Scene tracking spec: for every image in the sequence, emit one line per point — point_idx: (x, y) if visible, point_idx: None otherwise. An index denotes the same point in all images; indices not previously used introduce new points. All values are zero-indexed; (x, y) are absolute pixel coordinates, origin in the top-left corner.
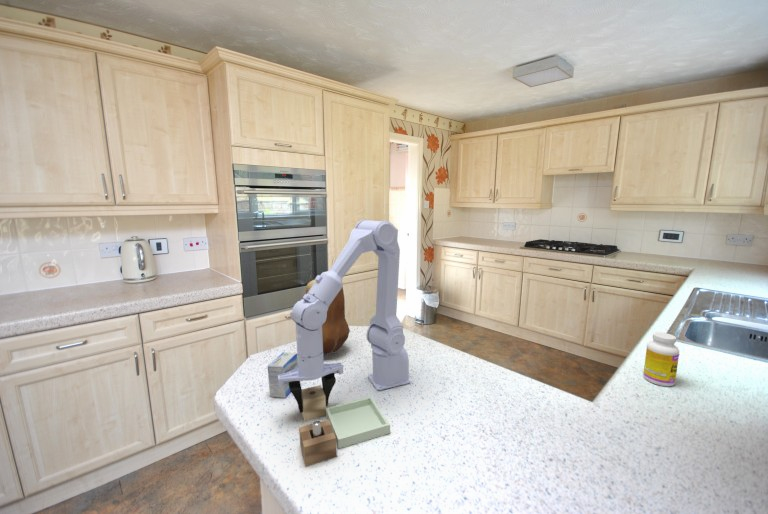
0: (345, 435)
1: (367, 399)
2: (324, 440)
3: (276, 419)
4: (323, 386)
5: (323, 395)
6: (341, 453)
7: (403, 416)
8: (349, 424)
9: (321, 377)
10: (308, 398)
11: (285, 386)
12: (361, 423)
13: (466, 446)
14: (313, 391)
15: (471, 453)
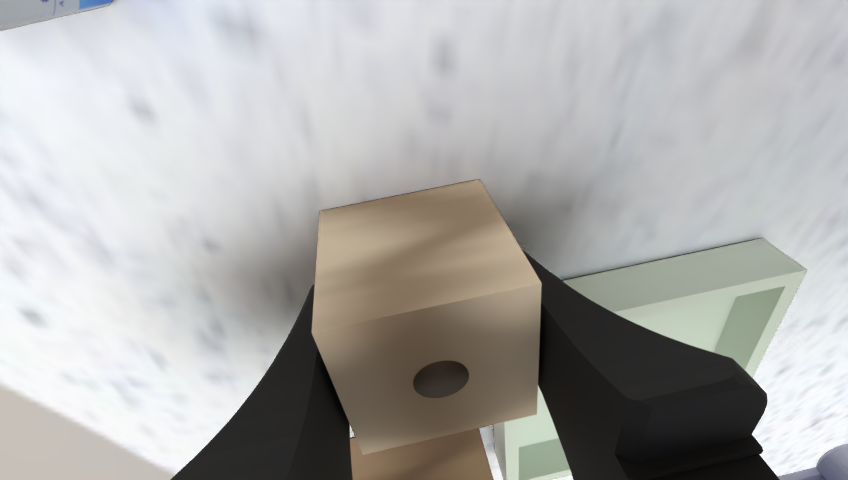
0: (539, 475)
1: (767, 286)
2: None
3: (156, 287)
4: (560, 381)
5: (524, 408)
6: None
7: (808, 335)
8: None
9: (596, 371)
10: (404, 431)
11: (37, 1)
12: None
13: (830, 445)
14: (453, 366)
15: (816, 460)
